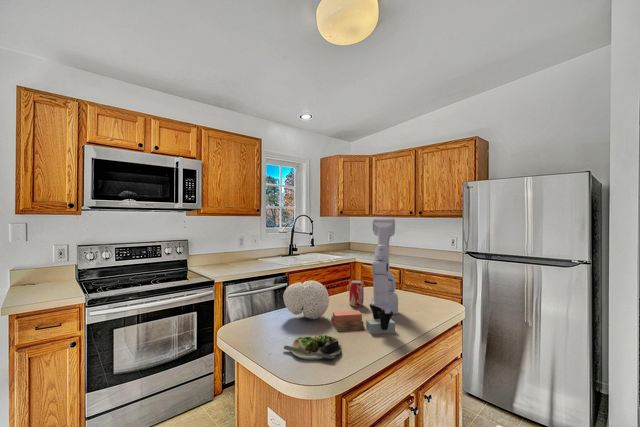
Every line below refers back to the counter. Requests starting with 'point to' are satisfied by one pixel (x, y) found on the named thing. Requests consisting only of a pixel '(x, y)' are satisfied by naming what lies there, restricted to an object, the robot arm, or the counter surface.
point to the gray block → (379, 326)
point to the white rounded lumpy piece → (307, 299)
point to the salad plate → (316, 347)
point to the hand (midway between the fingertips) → (380, 325)
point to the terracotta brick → (346, 316)
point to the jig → (349, 325)
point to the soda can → (356, 293)
